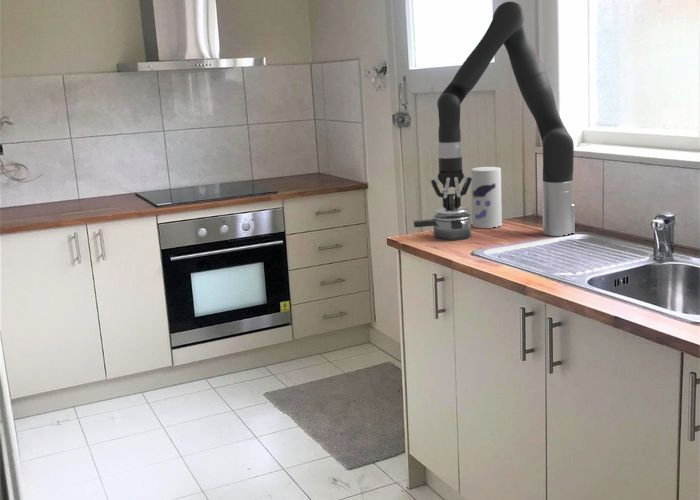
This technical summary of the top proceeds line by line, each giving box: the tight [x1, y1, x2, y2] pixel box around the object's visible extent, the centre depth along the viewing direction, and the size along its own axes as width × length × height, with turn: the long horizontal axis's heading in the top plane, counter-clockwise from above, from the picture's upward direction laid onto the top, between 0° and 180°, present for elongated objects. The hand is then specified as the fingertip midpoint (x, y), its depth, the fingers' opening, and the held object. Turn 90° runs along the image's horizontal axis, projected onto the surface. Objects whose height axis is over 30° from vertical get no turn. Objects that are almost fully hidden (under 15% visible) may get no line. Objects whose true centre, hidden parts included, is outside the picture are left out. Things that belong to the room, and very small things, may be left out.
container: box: [470, 166, 503, 229], centre depth 268 cm, size 10×10×20 cm
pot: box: [413, 212, 472, 242], centre depth 254 cm, size 19×14×7 cm
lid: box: [435, 192, 469, 215], centre depth 254 cm, size 10×10×6 cm
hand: (451, 208), depth 254 cm, fingers closed on lid, 3 cm apart
